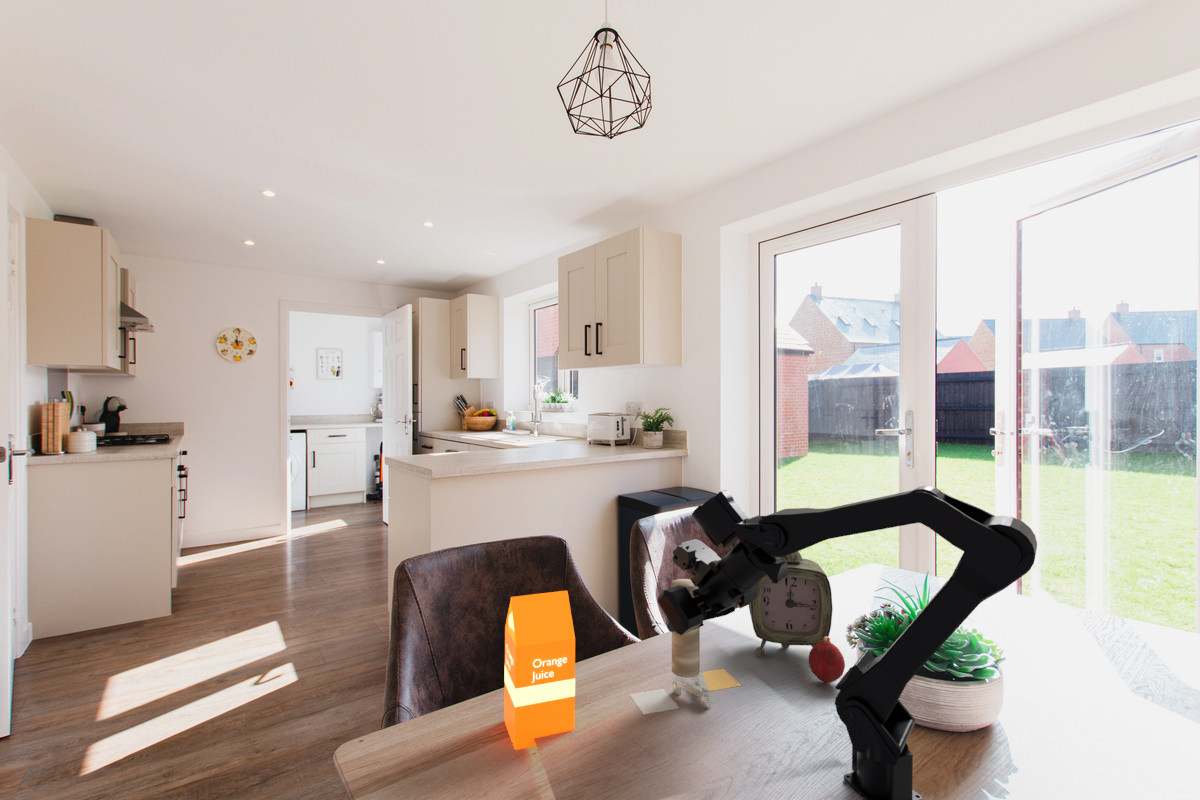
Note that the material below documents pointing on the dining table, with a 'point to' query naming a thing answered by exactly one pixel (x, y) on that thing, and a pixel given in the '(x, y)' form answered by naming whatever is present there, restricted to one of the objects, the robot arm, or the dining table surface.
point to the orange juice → (539, 667)
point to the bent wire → (693, 689)
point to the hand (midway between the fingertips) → (678, 624)
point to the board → (664, 702)
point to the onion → (826, 661)
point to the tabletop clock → (793, 605)
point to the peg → (686, 644)
